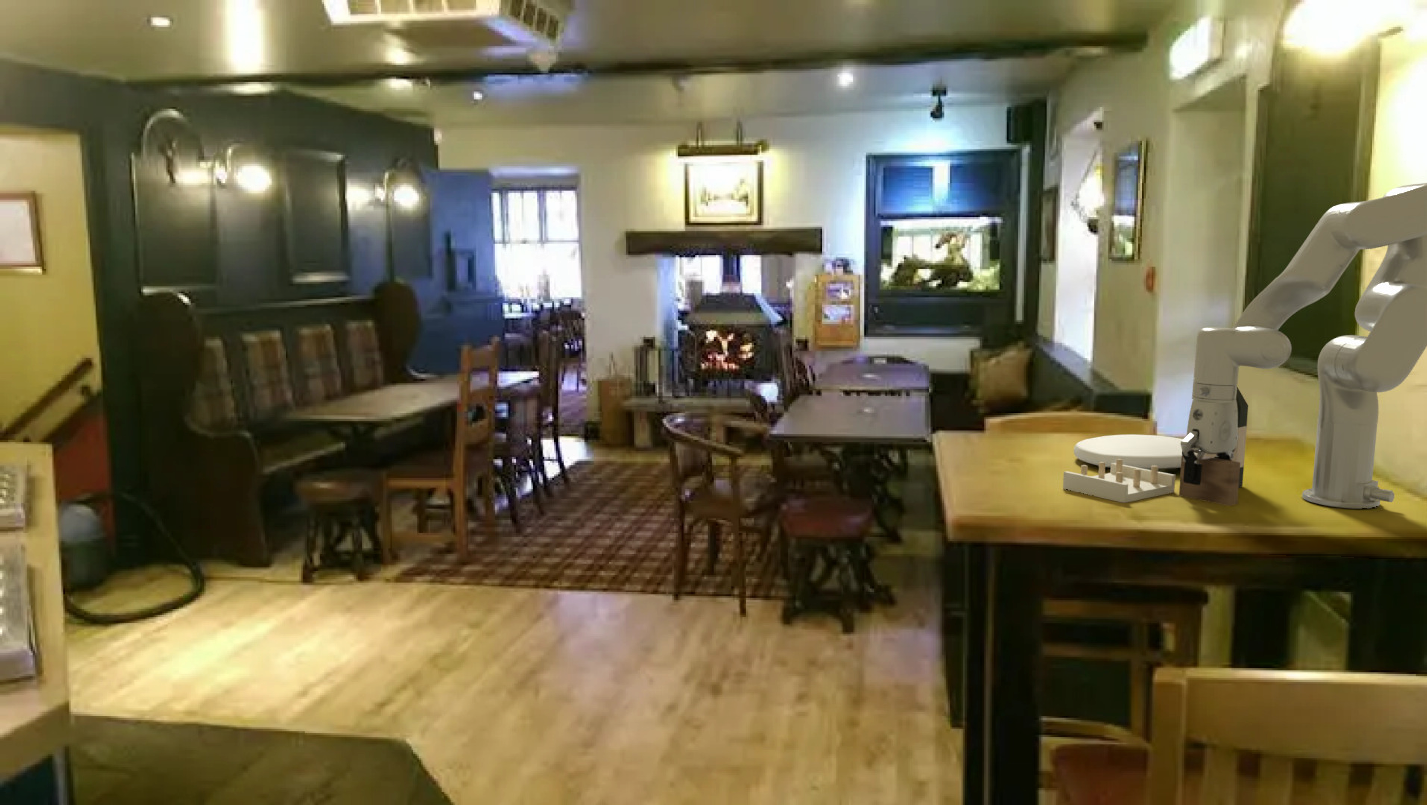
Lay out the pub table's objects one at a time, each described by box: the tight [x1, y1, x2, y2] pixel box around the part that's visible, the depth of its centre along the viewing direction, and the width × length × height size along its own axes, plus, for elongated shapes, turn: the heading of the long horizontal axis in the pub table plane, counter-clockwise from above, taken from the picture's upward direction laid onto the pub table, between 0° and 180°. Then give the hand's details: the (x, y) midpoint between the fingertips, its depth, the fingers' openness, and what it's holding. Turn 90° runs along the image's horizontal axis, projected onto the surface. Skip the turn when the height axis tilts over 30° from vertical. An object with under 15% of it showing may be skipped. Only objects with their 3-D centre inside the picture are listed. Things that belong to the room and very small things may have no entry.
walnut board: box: [1178, 455, 1240, 507], centre depth 194 cm, size 10×3×8 cm, turn 33°
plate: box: [1073, 434, 1198, 470], centre depth 227 cm, size 28×6×27 cm
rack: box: [1062, 459, 1176, 504], centre depth 201 cm, size 14×16×5 cm
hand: (1206, 480), depth 194 cm, fingers open, 9 cm apart
